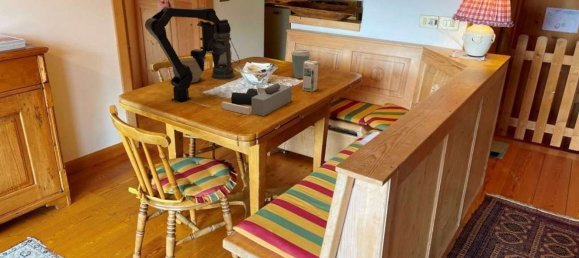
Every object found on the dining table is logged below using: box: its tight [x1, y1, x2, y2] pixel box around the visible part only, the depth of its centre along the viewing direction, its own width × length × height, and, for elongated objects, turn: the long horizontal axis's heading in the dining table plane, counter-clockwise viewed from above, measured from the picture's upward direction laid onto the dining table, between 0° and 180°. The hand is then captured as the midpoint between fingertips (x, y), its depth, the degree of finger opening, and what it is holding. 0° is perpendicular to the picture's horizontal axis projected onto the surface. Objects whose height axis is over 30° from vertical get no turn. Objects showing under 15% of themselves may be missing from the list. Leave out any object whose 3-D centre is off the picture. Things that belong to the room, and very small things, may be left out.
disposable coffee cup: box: [291, 49, 311, 79], centre depth 237 cm, size 11×11×15 cm
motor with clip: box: [221, 82, 293, 117], centre depth 193 cm, size 29×20×10 cm
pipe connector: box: [230, 87, 260, 106], centre depth 197 cm, size 12×5×15 cm
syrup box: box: [302, 59, 319, 93], centre depth 215 cm, size 6×6×14 cm
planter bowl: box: [179, 56, 206, 84], centre depth 224 cm, size 16×16×11 cm
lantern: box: [211, 32, 241, 80], centre depth 231 cm, size 19×14×30 cm
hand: (209, 69), depth 201 cm, fingers open, 9 cm apart
